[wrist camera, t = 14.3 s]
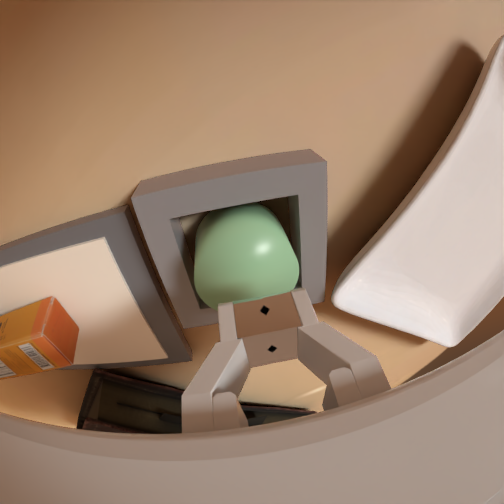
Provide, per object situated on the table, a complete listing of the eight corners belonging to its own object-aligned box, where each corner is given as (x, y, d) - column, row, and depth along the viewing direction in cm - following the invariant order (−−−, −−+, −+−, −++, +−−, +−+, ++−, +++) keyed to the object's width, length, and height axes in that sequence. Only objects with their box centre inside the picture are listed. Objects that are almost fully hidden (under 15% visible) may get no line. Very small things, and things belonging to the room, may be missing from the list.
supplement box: (83, 329, 16) (0, 349, 14) (55, 293, 14) (-26, 321, 12) (77, 370, 13) (-9, 381, 12) (42, 335, 11) (-38, 354, 10)
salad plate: (305, 271, 17) (323, 311, 14) (474, 22, 8) (512, 26, 5) (439, 329, 25) (453, 351, 23) (543, 187, 16) (563, 203, 14)
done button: (279, 193, 13) (297, 223, 10) (285, 266, 15) (300, 304, 13) (185, 210, 13) (181, 246, 10) (206, 281, 15) (208, 322, 13)
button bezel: (310, 149, 12) (326, 161, 11) (313, 278, 17) (324, 301, 15) (140, 181, 12) (130, 198, 10) (184, 304, 17) (183, 328, 15)
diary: (238, 446, 37) (242, 473, 33) (77, 417, 26) (74, 450, 22) (324, 404, 29) (335, 441, 25) (96, 359, 18) (86, 418, 14)
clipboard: (128, 204, 12) (117, 224, 11) (192, 352, 19) (192, 374, 18) (-38, 262, 12) (-51, 278, 10) (37, 362, 19) (31, 378, 17)
